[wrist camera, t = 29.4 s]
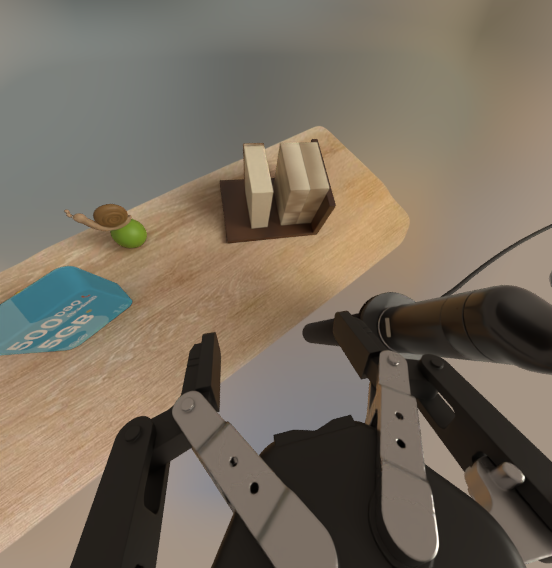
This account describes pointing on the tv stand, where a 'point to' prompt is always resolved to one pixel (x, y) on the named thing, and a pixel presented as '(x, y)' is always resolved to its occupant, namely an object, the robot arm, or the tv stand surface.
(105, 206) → the snail figurine
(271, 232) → the book rack
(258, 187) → the cream book
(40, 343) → the data package
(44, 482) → the tv stand surface
